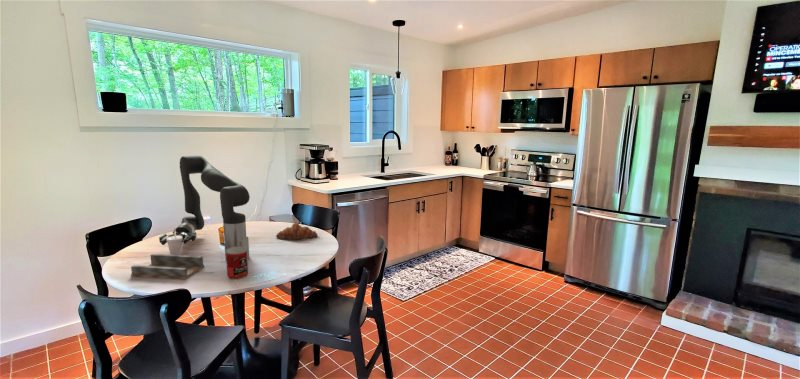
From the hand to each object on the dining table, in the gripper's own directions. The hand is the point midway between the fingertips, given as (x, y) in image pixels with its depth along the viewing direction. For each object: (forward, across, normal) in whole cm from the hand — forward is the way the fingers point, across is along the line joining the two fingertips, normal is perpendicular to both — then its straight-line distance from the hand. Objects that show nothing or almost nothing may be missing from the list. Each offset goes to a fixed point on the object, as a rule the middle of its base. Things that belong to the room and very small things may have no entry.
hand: (173, 242), depth 165 cm
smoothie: (-2, 0, +8) cm, 8 cm away
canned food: (+24, +29, +8) cm, 39 cm away
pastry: (-24, +53, +8) cm, 58 cm away
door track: (+14, +2, +8) cm, 17 cm away
